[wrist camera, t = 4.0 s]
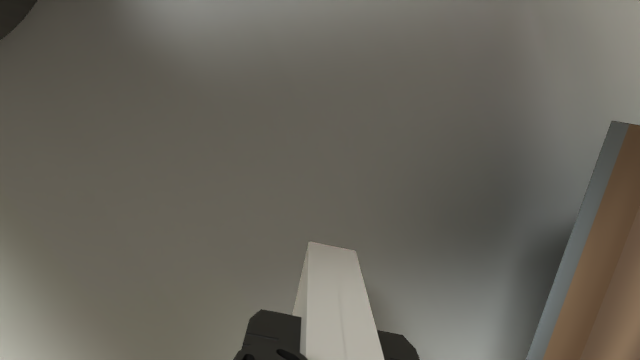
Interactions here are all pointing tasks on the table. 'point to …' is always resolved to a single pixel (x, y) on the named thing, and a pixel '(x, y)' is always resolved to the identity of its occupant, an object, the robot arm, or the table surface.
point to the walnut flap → (599, 264)
